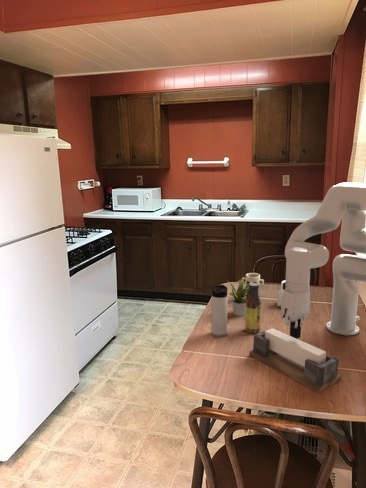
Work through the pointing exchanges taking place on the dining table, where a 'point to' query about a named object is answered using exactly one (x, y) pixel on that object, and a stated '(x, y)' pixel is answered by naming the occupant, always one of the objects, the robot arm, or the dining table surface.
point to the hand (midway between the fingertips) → (295, 336)
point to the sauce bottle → (253, 309)
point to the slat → (294, 348)
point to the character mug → (254, 278)
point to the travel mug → (219, 311)
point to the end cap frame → (297, 366)
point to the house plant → (239, 298)
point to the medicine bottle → (281, 293)
